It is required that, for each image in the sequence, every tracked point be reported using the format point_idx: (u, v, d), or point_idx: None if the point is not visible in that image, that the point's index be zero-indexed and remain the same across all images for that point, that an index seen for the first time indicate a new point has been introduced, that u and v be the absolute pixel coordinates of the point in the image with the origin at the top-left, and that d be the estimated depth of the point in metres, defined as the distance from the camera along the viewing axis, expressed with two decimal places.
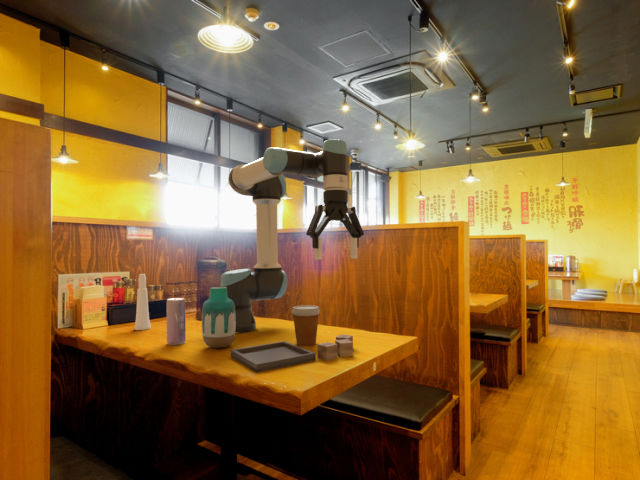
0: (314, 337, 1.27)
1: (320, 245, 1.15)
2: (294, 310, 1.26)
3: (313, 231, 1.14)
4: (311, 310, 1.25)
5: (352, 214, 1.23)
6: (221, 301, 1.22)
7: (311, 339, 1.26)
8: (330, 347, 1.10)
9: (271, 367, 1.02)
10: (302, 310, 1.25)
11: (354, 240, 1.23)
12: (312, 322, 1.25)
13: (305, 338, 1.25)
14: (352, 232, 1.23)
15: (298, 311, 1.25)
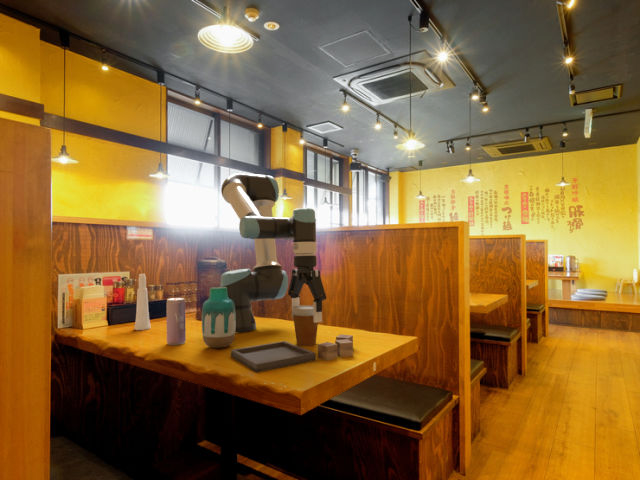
0: (314, 337, 1.27)
1: (292, 305, 1.34)
2: (294, 310, 1.26)
3: (289, 292, 1.36)
4: (311, 310, 1.25)
5: None
6: (221, 301, 1.22)
7: (311, 339, 1.26)
8: (330, 347, 1.10)
9: (271, 367, 1.02)
10: (302, 310, 1.25)
11: None
12: (312, 322, 1.25)
13: (305, 338, 1.25)
14: None
15: (298, 311, 1.25)
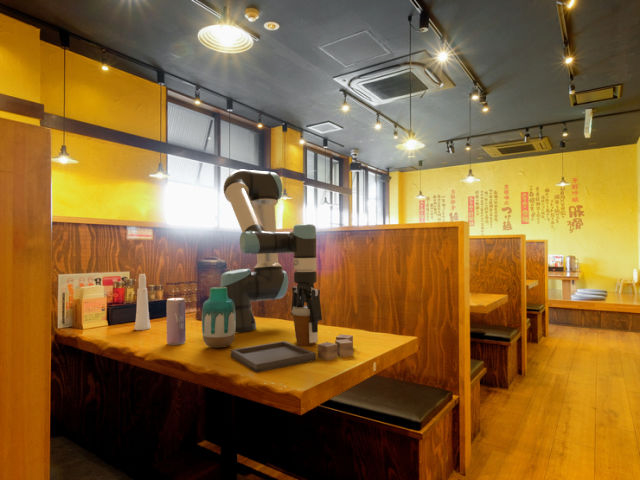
0: None
1: None
2: (294, 310, 1.26)
3: None
4: None
5: None
6: (221, 301, 1.22)
7: None
8: (330, 347, 1.10)
9: (271, 367, 1.02)
10: (302, 310, 1.25)
11: None
12: None
13: (305, 338, 1.25)
14: None
15: (298, 311, 1.25)
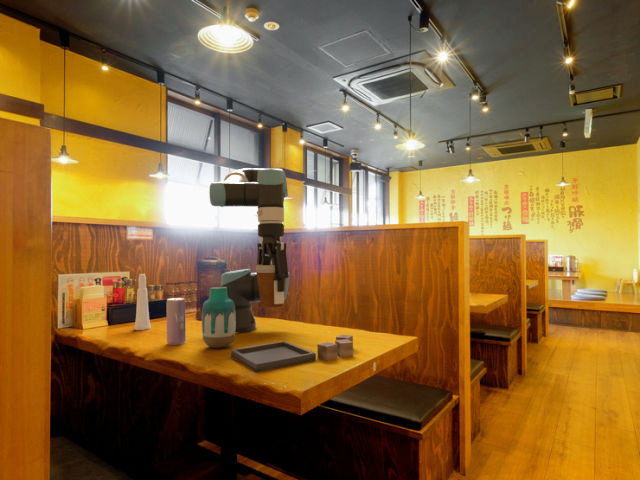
0: None
1: None
2: (257, 267, 1.10)
3: None
4: None
5: None
6: (221, 301, 1.22)
7: None
8: (330, 347, 1.10)
9: (271, 367, 1.02)
10: (266, 266, 1.08)
11: None
12: None
13: (270, 299, 1.09)
14: None
15: (262, 268, 1.08)
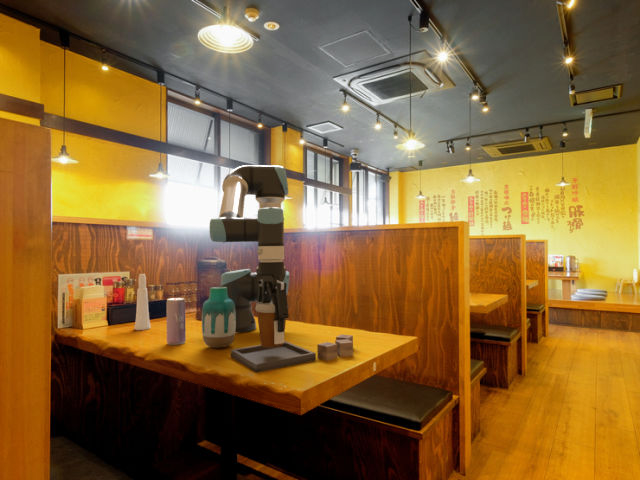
0: None
1: None
2: (257, 306, 1.09)
3: None
4: None
5: None
6: (221, 301, 1.22)
7: None
8: (330, 347, 1.10)
9: (271, 367, 1.02)
10: (266, 306, 1.08)
11: None
12: None
13: (270, 339, 1.08)
14: None
15: (262, 307, 1.08)
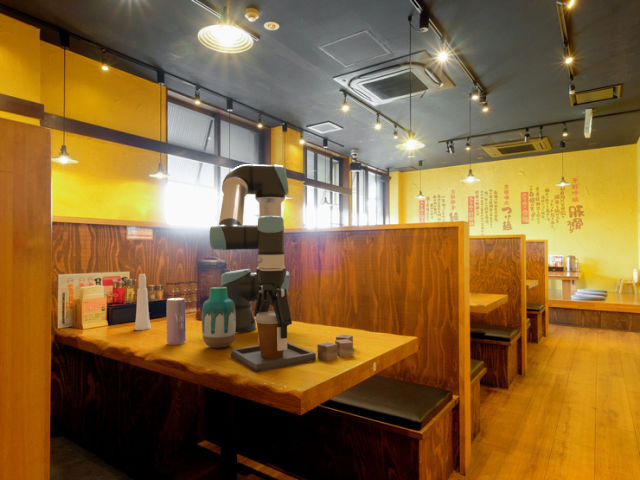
0: None
1: None
2: (257, 317, 1.10)
3: (255, 312, 1.18)
4: None
5: None
6: (221, 301, 1.22)
7: (277, 351, 1.09)
8: (330, 347, 1.10)
9: (271, 367, 1.02)
10: (266, 317, 1.08)
11: None
12: None
13: (270, 350, 1.09)
14: None
15: (262, 318, 1.08)
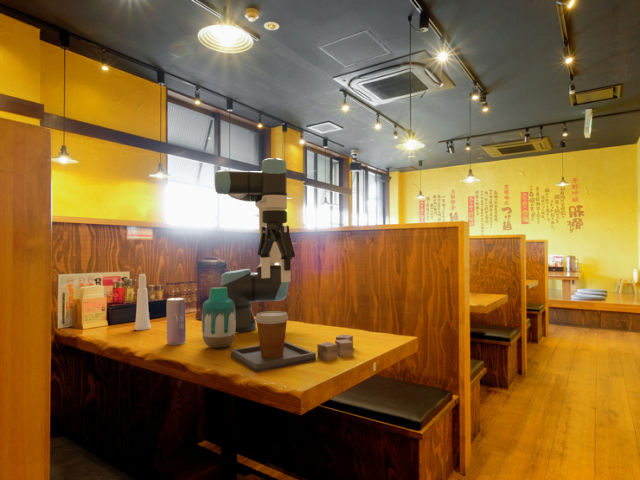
0: (281, 348, 1.10)
1: (261, 265, 1.24)
2: (257, 317, 1.10)
3: (258, 251, 1.26)
4: (277, 317, 1.08)
5: None
6: (221, 301, 1.22)
7: (277, 351, 1.09)
8: (330, 347, 1.10)
9: (271, 367, 1.02)
10: (266, 317, 1.08)
11: None
12: (277, 331, 1.09)
13: (270, 350, 1.09)
14: None
15: (262, 318, 1.08)
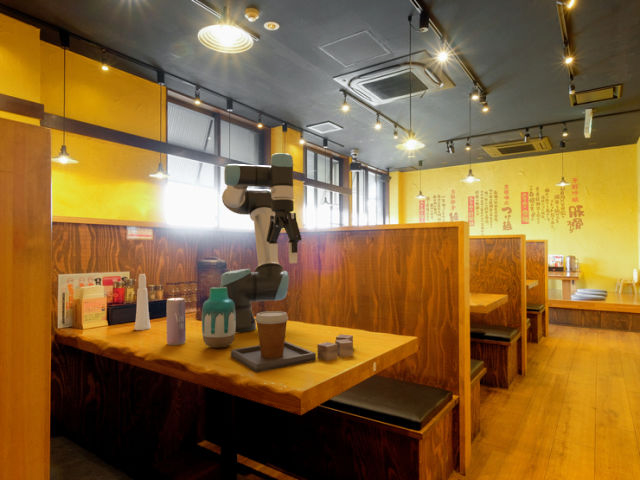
0: (281, 348, 1.10)
1: (270, 250, 1.36)
2: (257, 317, 1.10)
3: (267, 238, 1.38)
4: (277, 317, 1.08)
5: None
6: (221, 301, 1.22)
7: (277, 351, 1.09)
8: (330, 347, 1.10)
9: (271, 367, 1.02)
10: (266, 317, 1.08)
11: None
12: (277, 331, 1.09)
13: (270, 350, 1.09)
14: None
15: (262, 318, 1.08)
